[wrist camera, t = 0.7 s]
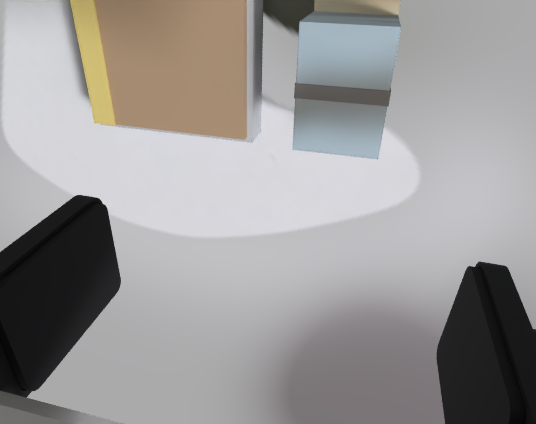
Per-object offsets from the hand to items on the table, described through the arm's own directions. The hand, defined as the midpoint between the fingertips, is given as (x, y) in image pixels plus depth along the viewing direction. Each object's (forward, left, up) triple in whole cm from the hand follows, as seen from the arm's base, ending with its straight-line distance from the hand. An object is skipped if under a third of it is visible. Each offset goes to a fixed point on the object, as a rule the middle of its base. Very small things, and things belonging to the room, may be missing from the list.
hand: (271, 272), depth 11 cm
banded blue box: (-1, 0, -21) cm, 21 cm away
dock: (-2, -12, -21) cm, 24 cm away
